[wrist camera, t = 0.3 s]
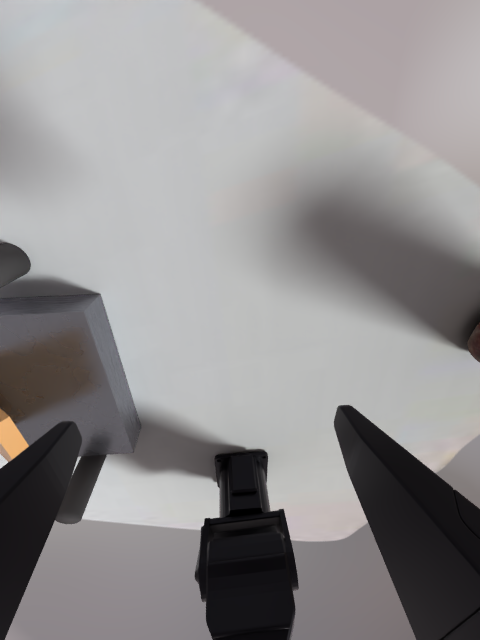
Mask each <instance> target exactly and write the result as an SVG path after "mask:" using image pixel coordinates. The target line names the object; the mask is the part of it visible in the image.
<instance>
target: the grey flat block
mask: <svg viewBox="0 0 480 640" xmlns="http://www.w3.org/2000/svg"><path fill="white" fill-rule="evenodd" d="M0 408H1V409H2V410H3V411H4V412H5V413H6V414H7V415H8V416H9V417H10V418H11V420H12V421H13V423H14V424H15V426H16V427H17V429H18V430H19V432H20V433H21V435H22V436H23V438H24V439H25V441H26V442H27V444H28V445H29V446H30V445H31V444H33V443H34V442H35V441H36V440H38V439H39V438H40V437H41V436H43V435H44V434H45V433H46V432H48V431H49V430H50V429H52V428H53V427H54V426H55V425H57V424H58V423H60V422H62V421H74V422H75V423H76V424H77V427H78V429H79V431H80V433H81V436H82V445H81V448H80V451H79V454H78V456H91V455H105V454H118V453H132V452H134V449H135V446H136V442H137V439H138V436H139V432H140V429H141V425H140V422H139V419H138V415H137V412H136V409H135V406H134V402H133V399H132V396H131V392H130V389H129V386H128V383H127V379H126V376H125V373H124V369H123V366H122V363H121V360H120V356H119V353H118V350H117V347H116V343H115V340H114V337H113V333H112V330H111V327H110V324H109V320H108V317H107V314H106V311H105V307H104V304H103V301H102V297H101V294H94V295H70V296H47V297H24V298H1V299H0Z"/></svg>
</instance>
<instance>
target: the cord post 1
mask: <svg viewBox="0 0 480 640" xmlns="http://www.w3.org/2000/svg"><path fill="white" fill-rule="evenodd" d="M30 267H31V264H30V260H29V258H28V256H27V255H26V253H25V252H24V251H23V250H21V249H20V248H18V247H17V246H15V245H12V244H0V287H2V286H4V285H6V284H8V283H10V282H12V281H13V280H15V279H17V278H19V277H21V276H23V275H25V274H26V273H28V272H29V270H30Z"/></svg>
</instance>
